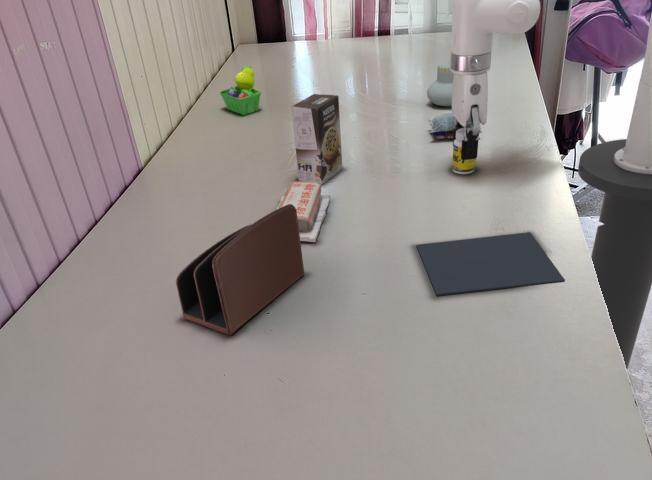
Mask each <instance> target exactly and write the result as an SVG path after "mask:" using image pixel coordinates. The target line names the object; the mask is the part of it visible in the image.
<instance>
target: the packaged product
mask: <svg viewBox="0 0 652 480" xmlns="http://www.w3.org/2000/svg"><path fill="white" fill-rule="evenodd" d="M330 200H331V195H330V194H325V195H324V194H322V184H320V183H317V182H315V181H299V180H298V181H291V182H290V184H289V185H288V187H287V188H286V191H285V193H284V194H282V196H281V198H280V201H279V202H278V204H277V206H276V209H275V210H277V209H279V208H281V207H283V206H286V205H289V204H292V205H293V206H294V207H295V208H296V211H297V219H298V226H299V234H300V242H309V243H316V241H317V238H318V236H319V233H320V230H321V226H322V223H323V222H324V219H325V218H326V215H327V214H326V213H327V209H328V207H329V203H330Z"/></svg>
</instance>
